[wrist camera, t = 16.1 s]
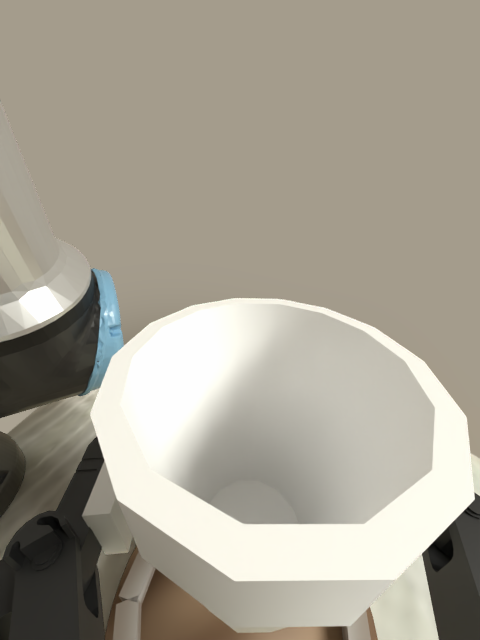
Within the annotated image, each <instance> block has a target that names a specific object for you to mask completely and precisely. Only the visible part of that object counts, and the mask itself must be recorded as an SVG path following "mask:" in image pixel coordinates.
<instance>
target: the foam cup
mask: <svg viewBox="0 0 480 640" xmlns="http://www.w3.org/2000/svg"><path fill="white" fill-rule="evenodd" d="M90 415H91V419H92V422H93V425H94V428H95V431H96V435H97V438H98V441H99V444H100V447H101V450H102V454H103V457H104V460H105V463H106V466H107V470H108V473H109V476H110V479H111V482H112V486H113V489H114V492H115V495H116V498H117V501H118V503H119V506H120V508H121V510H122V513H123V515H124V517H125V520H126V522H127V524H128V527H129V529H130V531H131V534H132V536H133V538H134V541H135V543H136V545H137V548H138V550H139V552H140V555H141V557H142V558H143V559H144V560H146V561H147V562H148V563H149V564H151V565H152V566H153V567H155V568H156V569H157V570H158V571H160V572H161V573H162V574H164V575H165V576H166V577H168V578H169V579H170V580H171V581H173V582H174V583H175V584H177V585H178V586H179V587H180V588H182V589H183V590H184V591H186V592H187V593H188V594H189V595H191V596H192V597H193V598H195V599H196V600H197V601H198V602H200V603H201V604H202V605H204V606H205V607H206V608H207V609H208V610H209V611H210V612H211V613H213V614H214V615H215V616H216V617H218V618H219V619H220V620H222V621H223V622H224V623H225V624H227V625H228V626H229V627H231V628H232V629H233V630H234V631H236V632H237V633H255V632H273V631H276V630H280V629H283V628H286V627H320V626H351V625H352V624H353V623H354V622H355V621H356V620H357V619H358V618H359V617H360V616H361V615H362V614H363V613H364V612H365V611H366V610H367V609H368V608H369V607H370V606H371V605H372V604H373V603H374V602H375V601H376V600H377V599H378V598H379V597H380V596H381V595H382V594H383V593H384V592H385V591H386V590H387V589H388V588H389V587H390V586H391V585H392V584H393V583H394V581H395V580H396V579H397V578H398V577H399V576H400V575H401V574H402V573H403V572H404V571H405V570H406V569H407V568H408V567H409V566H410V565H411V564H412V563H413V562H414V561H415V560H416V559H417V558H418V557H419V556H420V555H421V554H422V553H423V552H424V551H425V550H426V549H427V548H428V547H429V546H430V545H431V544H432V543H433V542H434V541H435V540H436V539H437V538H438V537H439V536H440V535H441V534H442V533H443V532H444V531H445V529H446V528H447V527H448V526H449V525H450V524H451V523H452V522H453V521H454V520H455V519H456V518H457V517H458V516H459V515H460V514H461V513H462V512H463V511H464V510H465V509H466V508H467V507H468V506H469V505H470V504H471V503H472V502H473V501H474V500H475V496H474V486H473V476H472V466H471V456H470V447H469V436H468V426H467V417H466V416H465V414H464V413H463V412H462V411H461V409H460V408H459V407H458V405H457V404H456V403H455V402H454V400H453V399H452V397H451V396H450V395H449V393H448V392H447V391H446V390H445V388H444V387H443V386H442V384H441V383H440V382H439V380H438V379H437V378H436V376H435V375H434V374H433V373H432V371H431V370H430V369H429V367H428V366H427V365H426V363H425V362H424V361H423V360H421V359H420V358H418V357H417V356H416V355H414V354H413V353H411V352H410V351H408V350H407V349H405V348H404V347H402V346H401V345H400V344H398V343H397V342H395V341H394V340H392V339H391V338H389V337H388V336H386V335H385V334H383V333H382V332H381V331H379V330H378V329H376V328H374V327H372V326H370V325H367V324H365V323H362V322H360V321H357V320H355V319H352V318H350V317H347V316H345V315H342V314H340V313H337V312H334V311H332V310H330V309H327V308H323V307H318V306H313V305H307V304H302V303H298V302H293V301H288V300H283V299H254V298H233V299H228V300H222V301H216V302H210V303H204V304H198V305H192V306H190V307H188V308H185V309H183V310H180V311H178V312H176V313H173V314H171V315H169V316H166V317H164V318H162V319H159V320H157V321H154V322H152V323H150V324H149V325H148V326H146V327H145V328H144V329H143V330H142V331H141V332H139V334H137V335H136V336H135V337H134V338H133V339H131V340H130V341H129V342H128V343H127V344H126V345H125V346H123V347H122V348H121V349H120V350H119V351H118V352H117V353H115V354H114V355H113V356H112V358H111V360H110V363H109V366H108V368H107V371H106V373H105V376H104V379H103V381H102V384H101V387H100V389H99V392H98V394H97V397H96V400H95V402H94V405H93V407H92V410H91V413H90Z"/></svg>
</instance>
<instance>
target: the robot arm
mask: <svg viewBox="0 0 480 640" xmlns="http://www.w3.org/2000/svg"><path fill="white" fill-rule="evenodd" d="M120 328H121V323H120V312H119V306H118V300H117V295H116V291H115V286H114V283H113V280H112V278H111V275H110V274H109V273H108V272H107V271H103V270H97V269H94V268H93V269H90V266H89V263H88V261H87V260H86V258H85V257H84V255H83V254H82V253H81V252H80V251H79V250H78V249H77V248H75V247H73V246H72V245H70V244H69V243H66V242H64V241H62V240H60V239H57V238H55V236H54V234H53V231H52V229H51V226H50V223H49V221H48V218H47V216H46V213H45V211H44V208H43V206H42V204H41V201H40V199H39V196H38V194H37V191H36V188H35V186H34V183H33V181H32V178H31V176H30V173H29V171H28V168H27V166H26V163H25V161H24V159H23V156H22V153H21V151H20V148H19V146H18V143H17V141H16V138H15V136H14V133H13V131H12V128H11V126H10V123H9V121H8V118H7V116H6V113H5V111H4V108H3V106H2V103H1V101H0V418H2V417H5V416H9V415H12V414H15V413H19V412H22V411H26V410H29V409H32V408H35V407H39V406H42V405H46V404H49V403H52V402H56V401H59V400H62V399H66V398H69V397H73V396H76V395H78V396H83V395H86V394H88V393H89V392H90V391H92V390H95V389H98V388H100V387H101V384H102V381H103V379H104V376H105V373H106V371H107V368H108V366H109V363H110V360H111V358H112V356H113V355H114V354H115V353H117V352H118V351H119V350H120V349H121V348H122V347H123V346H124V344H123V336H122V331H121V329H120ZM24 472H25V457H24V455H23V453H22V451H21V449H20V448H19V447H18V445H17V444H16V442H15V441H14V440H13V439H12V438H11V437H10V436H8V435H7V434H5V433H3V432H0V517H1V516H2V515H3V513H4V512H5V511H6V509H7V508H8V506H9V505H10V503H11V502H12V500H13V499H14V497H15V495H16V493H17V491H18V489H19V487H20V485H21V482H22V480H23V476H24ZM474 496H475V500H474V501H473V502H472V503H471V504H470V505H469V506H468V507H467V508H466V509H465V510H464V511H463V512H462V513H461V514H460V515H459V516H458V517H457V518H456V519H455V520H454V521H453V522H452V523H451V524H450V525H449V526H448V527H447V528H446V529H445V531H444V532H443V533H442V534H441V535H440V536H439V537H438V538H437V539H436V540H435V541H434V542H433V543H432V544H431V545H430V546H429V547H428V548H427V549H426V550H425V551H424V552H423V553H422V556H423V561H424V566H425V571H426V576H427V581H428V586H429V591H430V596H431V601H432V606H433V611H434V616H435V621H436V626H437V631H438V636H439V640H480V496H479V495H477V494H476V493H474ZM132 537H133V536H132V534H131V531H130V529H129V527H128V524H127V522H126V520H125V517H124V515H123V513H122V510H121V508H120V506H119V503H118V501H117V498H116V495H115V492H114V489H113V486H112V482H111V479H110V476H109V473H108V470H107V466H106V463H105V460H104V457H103V454H102V450H101V447H100V444H99V441H98V438H97V437H96V438H95V439H94V440H93V441H92V442H91V443H90V444H89V445H88V447H87V450H86V452H85V454H84V456H83V458H82V461H81V462H80V464H79V466H78V468H77V470H76V473H75V474H74V476H73V478H72V480H71V482H70V484H69V486H68V488H67V490H66V492H65V494H64V496H63V498H62V500H61V502H60V504H59V506H58V508H57V510H56V511H47V512H44V513H42V514H39V515H37V516H35V517H34V518H32V519H31V520H29V521H28V522H26V523H25V524H24V525H23V526H22V527H21V528H20V529H19V530H18V531H17V532H16V533H15V535H14V536H13V538H12V539H11V541H10V542H9V544H8V545H7V547H6V550H5V553H4V556H3V560H1V561H0V640H105V632H104V622H103V612H102V602H101V592H100V582H99V572H98V568H97V565H96V564H97V561H98V558H99V555H100V552H101V549H102V550H103V552H104V554H105V555H110V554H119V553H128V552H129V550H130V545H131V541H132Z"/></svg>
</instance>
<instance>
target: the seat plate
mask: <svg viewBox="0 0 480 640" xmlns="http://www.w3.org/2000/svg"><path fill="white" fill-rule="evenodd" d="M105 640H378V639H377V634H376V629H375V625H374V620H373V616H372V613H371V610H370V607H369V608H368V609H367V610H366V611H365V612H364V613H363V614H362V615H361V616H360V617H359V618H358V619H357V620H356V621H355V622H354V623H353V624H352V625H351V626H320V627H286V628H283V629H280V630H276V631H273V632H255V633H237V632H236V631H234V630H233V629H232V628H231V627H229V626H228V625H227V624H225V623H224V622H223V621H222V620H220V619H219V618H218V617H216V616H215V615H214V614H213V613H211V612H210V611H209V610H208V609H207V608H206V607H205V606H204V605H202V604H201V603H200V602H198V601H197V600H196V599H195V598H193V597H192V596H191V595H189V594H188V593H187V592H186V591H184V590H183V589H182V588H180V587H179V586H178V585H177V584H175V583H174V582H173V581H171V580H170V579H169V578H168V577H166V576H165V575H164V574H162V573H161V572H160V571H158V570H157V569H156V568H155V567H153V566H152V565H151V564H149V563H148V562H147V561H146V560H144V559H143V558H142V557H141V555H140V552H139V550H138V548H137V545H136V547H135V549H134V551H133V553H132V555H131V557H130V559H129V561H128V563H127V566H126V568H125V571H124V573H123V575H122V578H121V580H120V583H119V586H118V589H117V592H116V595H115V598H114V601H113V604H112V608H111V612H110V616H109V620H108V625H107V629H106V633H105Z"/></svg>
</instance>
